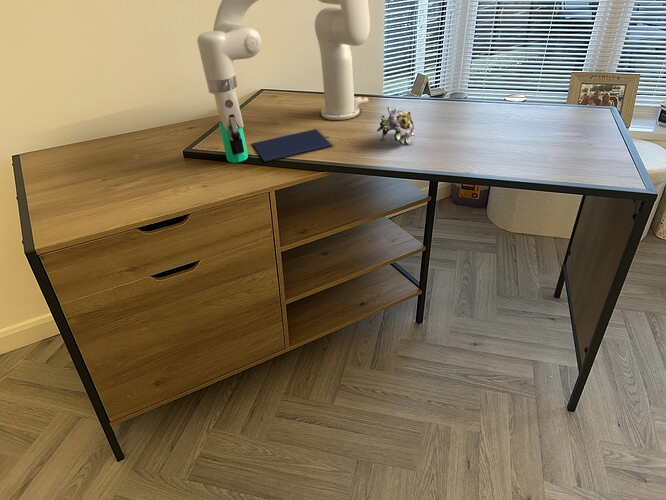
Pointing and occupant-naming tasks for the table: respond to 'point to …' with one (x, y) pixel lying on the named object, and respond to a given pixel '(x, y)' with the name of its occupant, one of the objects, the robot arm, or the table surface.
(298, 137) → the cloth
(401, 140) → the passion flower
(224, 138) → the candle
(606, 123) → the table surface
